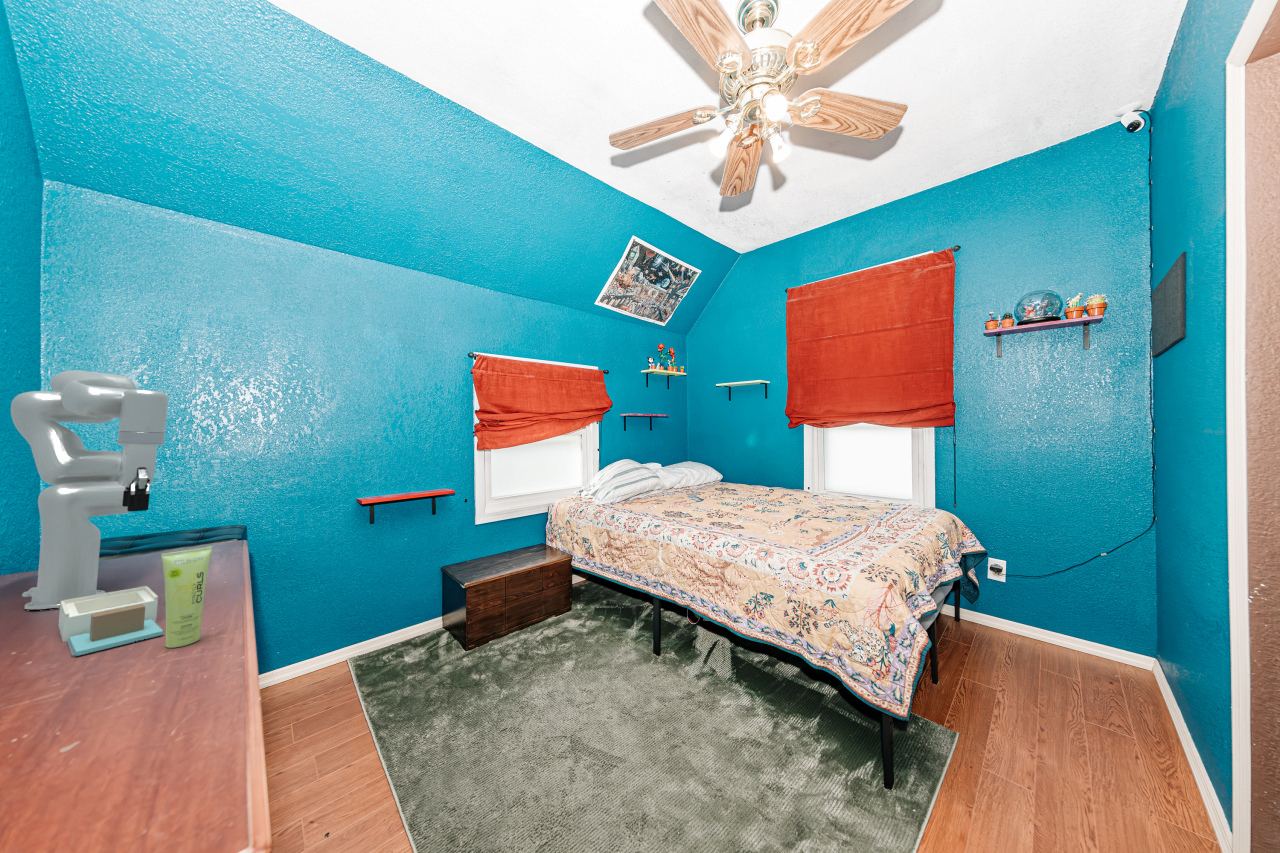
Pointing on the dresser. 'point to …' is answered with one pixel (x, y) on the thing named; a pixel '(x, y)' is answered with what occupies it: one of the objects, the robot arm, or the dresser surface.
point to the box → (102, 608)
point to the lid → (115, 630)
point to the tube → (184, 594)
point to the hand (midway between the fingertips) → (134, 508)
